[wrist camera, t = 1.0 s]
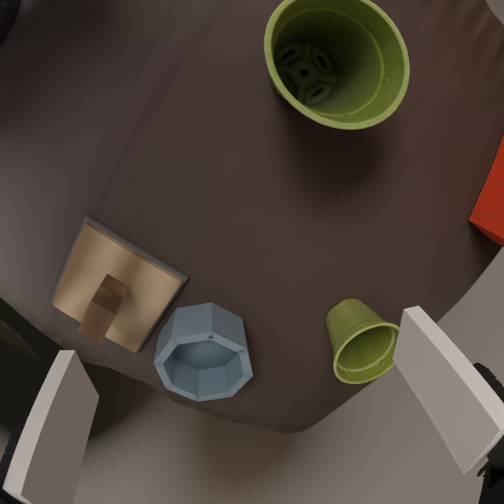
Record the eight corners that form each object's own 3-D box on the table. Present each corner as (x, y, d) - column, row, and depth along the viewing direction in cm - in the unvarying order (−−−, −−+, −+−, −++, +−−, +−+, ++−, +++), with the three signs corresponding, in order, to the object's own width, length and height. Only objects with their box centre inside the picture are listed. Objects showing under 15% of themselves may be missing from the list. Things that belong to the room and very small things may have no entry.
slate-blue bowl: (149, 347, 40) (142, 377, 34) (189, 289, 37) (185, 318, 32) (217, 378, 43) (218, 409, 38) (262, 328, 41) (269, 359, 35)
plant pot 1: (330, 144, 32) (379, 156, 22) (229, 98, 29) (236, 85, 19) (369, 57, 29) (427, 40, 18) (274, 7, 26) (301, -37, 15)
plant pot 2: (322, 285, 39) (346, 325, 31) (384, 287, 41) (415, 322, 33) (307, 343, 43) (324, 387, 35) (365, 341, 44) (388, 380, 36)
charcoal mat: (51, 300, 36) (50, 302, 35) (87, 214, 32) (85, 215, 32) (138, 350, 40) (138, 352, 40) (188, 276, 36) (188, 278, 36)
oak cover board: (54, 301, 35) (33, 331, 29) (87, 221, 32) (62, 243, 26) (136, 349, 39) (127, 384, 33) (182, 279, 36) (176, 311, 30)
